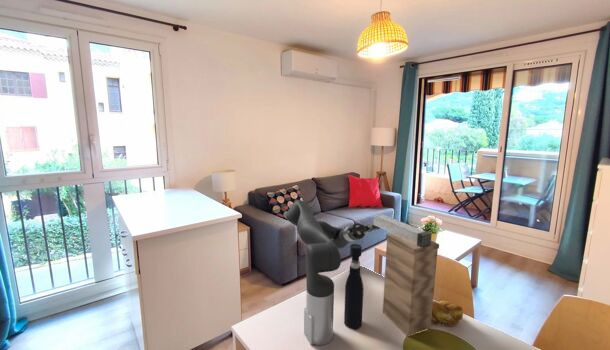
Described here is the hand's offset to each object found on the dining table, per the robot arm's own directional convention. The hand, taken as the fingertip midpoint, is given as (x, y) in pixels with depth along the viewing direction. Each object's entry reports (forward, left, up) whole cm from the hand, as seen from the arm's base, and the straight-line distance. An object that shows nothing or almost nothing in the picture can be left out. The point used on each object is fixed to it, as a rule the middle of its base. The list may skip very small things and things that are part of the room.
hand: (372, 225), depth 122 cm
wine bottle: (-19, -17, -29) cm, 39 cm away
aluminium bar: (-1, -18, +3) cm, 18 cm away
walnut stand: (0, -23, -29) cm, 37 cm away
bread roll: (+13, -28, -29) cm, 42 cm away
